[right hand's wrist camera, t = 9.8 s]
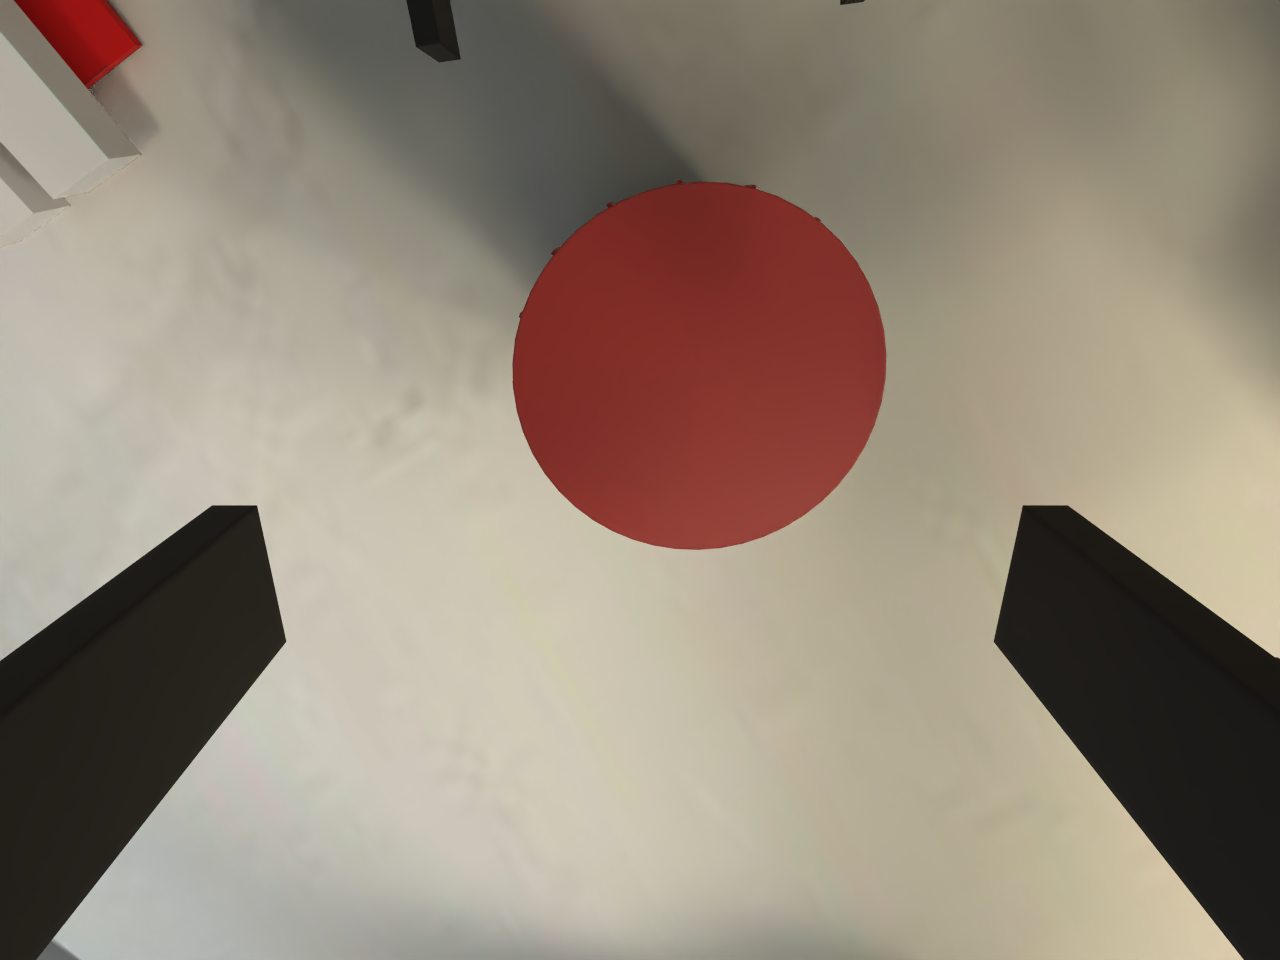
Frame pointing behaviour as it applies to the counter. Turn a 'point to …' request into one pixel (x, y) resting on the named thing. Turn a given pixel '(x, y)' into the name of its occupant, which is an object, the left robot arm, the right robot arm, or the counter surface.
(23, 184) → the toy
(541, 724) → the counter surface
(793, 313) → the lid
